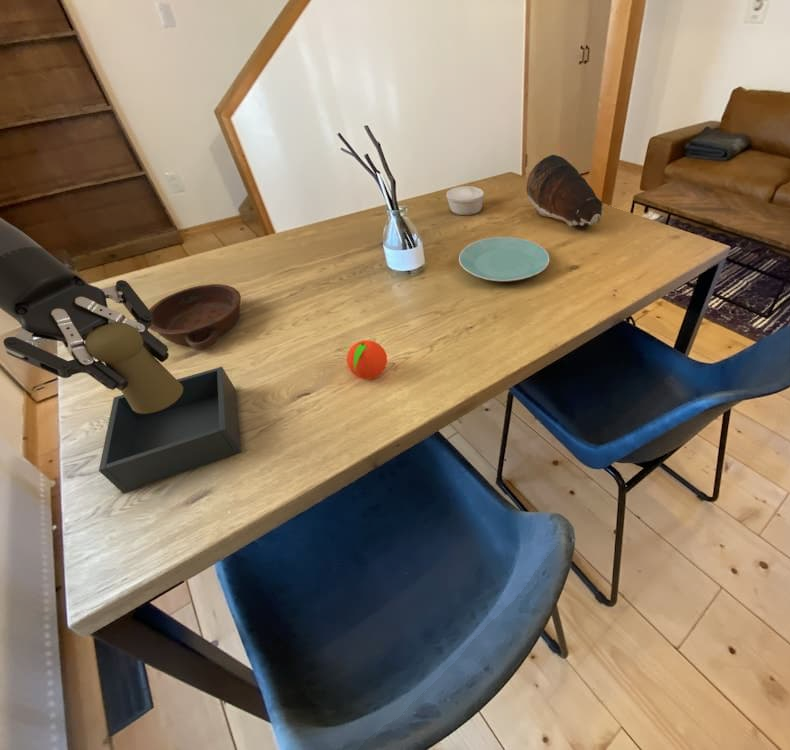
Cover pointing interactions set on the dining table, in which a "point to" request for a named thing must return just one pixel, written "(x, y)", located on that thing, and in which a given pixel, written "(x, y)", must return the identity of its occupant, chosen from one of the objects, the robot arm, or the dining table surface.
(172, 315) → the dish
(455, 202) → the ramekin
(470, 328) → the dining table surface
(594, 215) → the taro root
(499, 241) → the plate
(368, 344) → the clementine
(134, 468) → the bin
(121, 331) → the cork
